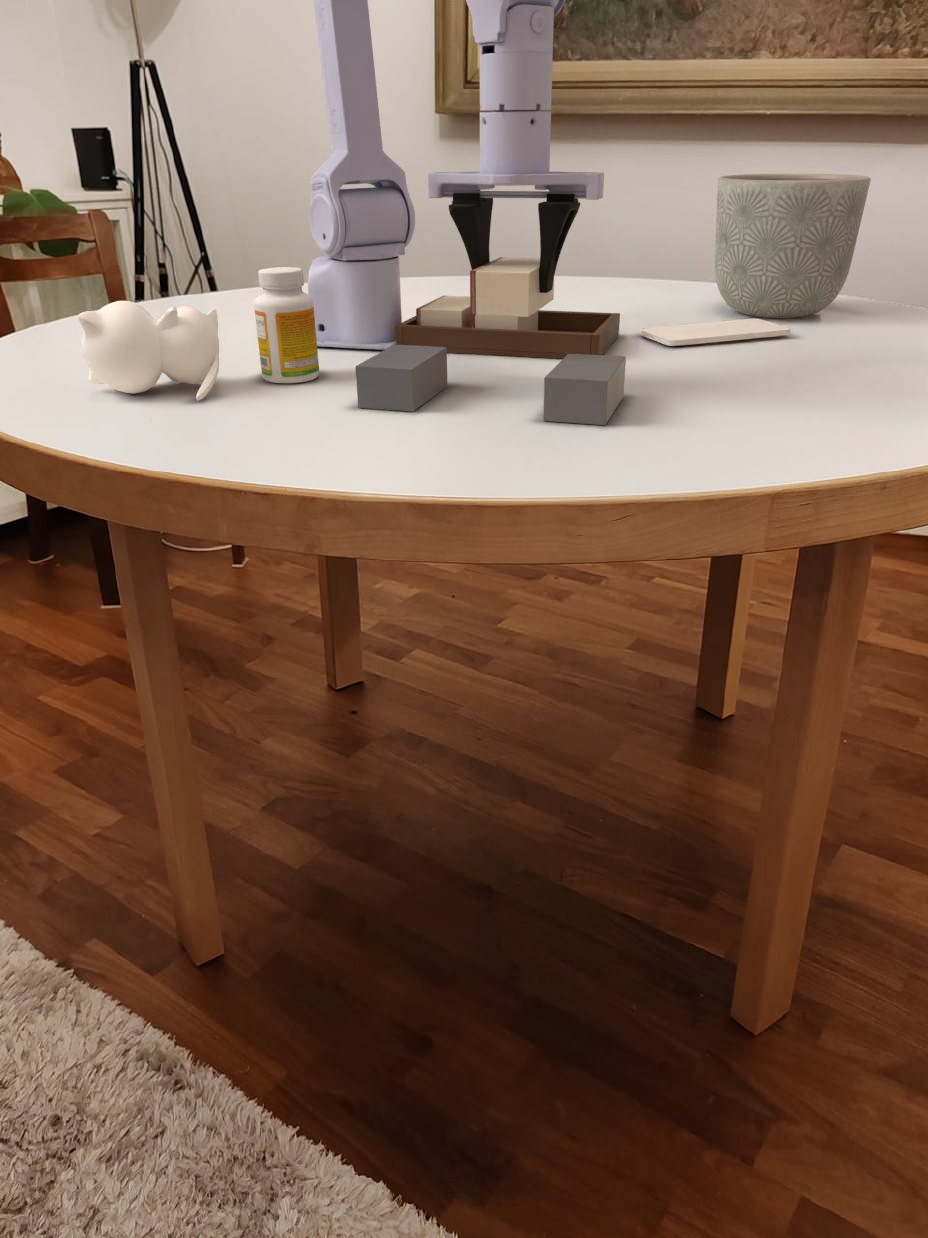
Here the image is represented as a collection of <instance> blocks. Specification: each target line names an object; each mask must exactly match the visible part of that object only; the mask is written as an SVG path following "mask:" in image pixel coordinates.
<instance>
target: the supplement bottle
mask: <svg viewBox="0 0 928 1238" xmlns="http://www.w3.org/2000/svg"><path fill="white" fill-rule="evenodd" d="M257 274H258V284H259V287H260V288H261V289H262V293H261V294H259V295H257V296H256V298H255V299H254V302H253V303H254V304H253V306H254V316H255V324H256V325H255V326H256V335H257V343H258V352H259V361H260V369H261V376H262V378H263V380H265V381H266V382H268V383H272V384H297V383H304V382H310V381H313V380H315V379H316V378H318V377H319V374H320V364H319V362H320V361H319V354H318V352H319V351H318V346H317V339H316V328H315V316H314V305H313V300H312V298H311V296H310V295H308V292H304V291H303V286H304V285H305V278H304V270H303V268H301V267H295V266H280V267H279V266H278V267H267V268H261V269H259V270H258V273H257Z"/></svg>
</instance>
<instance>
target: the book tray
mask: <svg viewBox="0 0 928 1238" xmlns="http://www.w3.org/2000/svg"><path fill="white" fill-rule="evenodd" d="M620 323H621V313H620V312H613V313H612V312H598V311H597V312H593V311H569V310H543V309H539V310H538V331H531V330H508V329H486V328H464V327H442V326H420V325H417V321H416V315H414V316H412V317H410V318H408V319H406V320H405V321H402V323H400V324H398V325H396V345H413V346H433V347H447V354H449V353H451V354H464V355H465V354H467V355H485V356H486V355H487V356H503V357H504V356H505V357H522V358H523V357H524V358H540V359H541V358H542V359H543V358H544V359H561V360H563V359H564V358H565V357H566V356H567V355H568V354H587V355H604V354H605V353H606V352H607V351H608V349H609V348H610V347H611V346H612V345H613V344H614V342H616V340H617V339H618V338H619V337H620Z"/></svg>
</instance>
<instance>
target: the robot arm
mask: <svg viewBox="0 0 928 1238" xmlns="http://www.w3.org/2000/svg"><path fill="white" fill-rule="evenodd" d="M465 2H466V5H467V7H468V9H469V11H470V16H471V22H472V23H471V24H472V25H471V26H472V37H474V42H475V44H477V45H478V46H479V171H433V172H428V173H427V198H428V199H442V198H452V201H451V204H448V211H449V215H450V217H451V219H452V220H453V222H454V224H455V228H456V229H457V231H458V233H459V235H460V238H461V240H462V243H463V245H464V248H465V252H466V255H467V257H468V261H469V265H470V268H471V270H473V269H475V268H478V267H480V266H482V265H484V264H486V263H489V262H491V257H490V255H491V254H490V242H491V241H490V239H491V226H492V225H491V224H492V215H493V207H494V199H546V201H541V202H538V204H537V210H538V221H539V222H538V223H539V240H540V247H539V248H540V251H539V252H540V253H539V254H540V257H539V258H540V267H539V290H540V293H548V292H549V291H551V290H552V287H553V280H554V281H555V275H556V271H557V266H558V262H559V259H560V256H561V254H562V253H561V252H562V250H563V247H564V244H565V242H566V239H567V237H568V234H569V231H570V229H571V227H572V225H573V223H574V221H575V218H576V216H577V215H578V212H579V210H580V207H581V202H579V200H589V201H590V200H591V201H592V200H593V201H596V200H601V199H603V198H604V188H605V187H604V185H605V184H604V183H605V172H603V171H600V172H596V171H595V172H594V171H593V172H592V171H551V170H550V167H551V132H552V131H551V129H552V127H551V126H552V92H553V55H554V22H555V21H554V19H555V17H556V16H557V15H559V13H560V12H561V10H562V9H563V7H564V6H565V4H566V2H567V0H465ZM313 7H314V13H315V15H314V16H315V21H316V22H315V24H316V31H317V39H318V48H319V58H320V64H321V73H322V82H323V91H324V99H325V106H326V115H327V122H328V131H329V132H328V133H329V139H330V140H329V141H330V147H331V148H330V149H331V155H330V156H329V157H328V158H327V159H326V160H325V161H324V162H323V163H322V164H321V166H320V167H319V168H318V169H317V170H316V171H315V172H314V173H313V174H312V176H311V177H310V179H309V188H310V189H309V190H310V205H309V214H308V218H309V219H308V220H309V221H308V222H309V226H310V227H309V228H310V232H311V237H312V238H313V241H314V243H315V244H316V246H317V248H318V249H319V250H320V251H321V252H322V254H323V256H318V257H316V258H315V259H313V261H312V262H311V264H310V266H309V270H308V275H307V294H308V295H310V296H311V298H312V300H313V305H314V316H315V328H316V339H317V347H323V348H324V347H325V348H339V349H341V348H342V349H358V350H359V349H360V350H363V349H364V350H378V351H380V350H381V351H384V350H386V349H388V348H390V347H391V346H393V345H396V325H398V324H400V323H402V322H403V320H402V319H403V318H402V317H403V315H402V296H401V272H400V256H404V255H406V251H405V250H406V247H407V246H409V244H410V242H411V240H412V238H413V236H414V232H415V230H416V229H415V228H416V211H415V207H414V204H413V201H412V199H411V197H410V193H409V189H408V185H407V177H406V172H405V171H404V169H403V168H402V167H401V166H400V165H399V164H398V163H397V162H395V161H394V160H393V159H392V158H391V157H390V156H388V154H386V152H385V151H384V150H383V149H384V148H383V137H382V128H381V127H382V126H381V119H380V118H381V117H380V108H379V100H378V99H379V98H378V88H377V79H376V70H375V60H374V59H375V58H374V50H373V39H372V30H371V21H370V20H371V19H370V11H369V1H368V0H313ZM361 184H362V185H364V184H367V185H371V186H373V187H357V188H342V186H344V185H361ZM496 186H499V187H500V186H502V187H504V186H508V187H509V186H511V187H512V186H534V191H533V190H532V191H531V190H491V189H495V188H496ZM535 190H536V191H535ZM547 190H548V191H547Z"/></svg>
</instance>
